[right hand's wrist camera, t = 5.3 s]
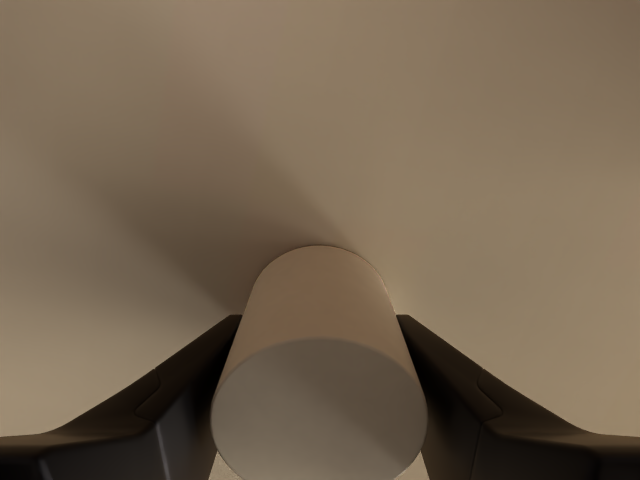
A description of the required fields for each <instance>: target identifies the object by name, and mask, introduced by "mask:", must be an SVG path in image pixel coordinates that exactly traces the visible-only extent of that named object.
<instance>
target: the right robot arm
mask: <svg viewBox="0 0 640 480" xmlns="http://www.w3.org/2000/svg"><path fill="white" fill-rule="evenodd" d="M242 316H243V315H229V316H228V317H226V318H225V319H223V320H222V321H221V322H219V323H218V324H216V325H215V326H213V327H212V328H211V329H209V330H208V331H206V332H205V333H204V334H202V335H201V336H199V337H198V338H197V339H195V340H194V341H192V342H191V343H190V344H188V345H187V346H185V347H184V348H182V349H181V350H180V351H178V352H177V353H175V354H174V355H173V356H171V357H170V358H168V359H167V360H166V361H164V362H163V363H161V364H160V365H158V366H157V367H156V368H155V369H153V370H151V371H150V372H148V373H147V374H146V375H144V376H143V377H141V378H140V379H138V380H137V381H135V382H134V383H132V384H131V385H130V386H128V387H126V388H125V389H123V390H122V391H120V392H118V393H117V394H115V395H114V396H112V397H110V398H109V399H107V400H105V401H104V402H102V403H100V404H99V405H97V406H95V407H94V408H92V409H90V410H89V411H87V412H85V413H84V414H82V415H80V416H79V417H77V418H75V419H74V420H72V421H70V422H68V423H67V424H65V425H63V426H61V427H59V428H57V429H54V430H51V431H48V432H45V433H41V434H34V435H20V436H7V437H0V480H208V479H209V475H210V472H211V469H212V466H213V463H214V460H215V456H216V453H217V448H216V446H215V443H214V441H213V438H212V434H211V428H210V408H211V402H212V399H213V396H214V394H215V391H216V388H217V385H218V383H219V380H220V377H221V374H222V372H223V369H224V366H225V363H226V360H227V358H228V355H229V352H230V349H231V347H232V344H233V341H234V338H235V336H236V333H237V330H238V327H239V325H240V322H241V319H242ZM396 317H397V320H398V323H399V326H400V329H401V331H402V334H403V337H404V340H405V343H406V345H407V348H408V351H409V354H410V357H411V359H412V362H413V365H414V368H415V371H416V373H417V376H418V379H419V382H420V385H421V387H422V390H423V393H424V396H425V399H426V403H427V407H428V428H427V434H426V437H425V441H424V444H423V446H422V448H421V453H422V456H423V460H424V463H425V466H426V469H427V473H428V476H429V479H430V480H640V437H630V436H616V435H603V434H596V433H592V432H589V431H586V430H583V429H580V428H578V427H576V426H574V425H572V424H570V423H569V422H567V421H565V420H564V419H562V418H560V417H559V416H557V415H555V414H554V413H552V412H550V411H549V410H547V409H545V408H544V407H542V406H540V405H539V404H537V403H535V402H534V401H532V400H530V399H529V398H527V397H525V396H524V395H522V394H521V393H519V392H517V391H516V390H514V389H513V388H511V387H510V386H508V385H507V384H505V383H504V382H502V381H501V380H499V379H498V378H496V377H495V376H493V375H492V374H491V373H489V372H488V371H486V370H485V369H483V368H482V367H481V366H479V365H478V364H476V363H475V362H474V361H472V360H471V359H469V358H468V357H467V356H465V355H464V354H462V353H461V352H460V351H458V350H457V349H455V348H454V347H453V346H451V345H450V344H448V343H447V342H446V341H444V340H443V339H441V338H440V337H439V336H437V335H436V334H435V333H433V332H432V331H430V330H429V329H428V328H426V327H425V326H423V325H422V324H421V323H419V322H418V321H416V320H415V319H414V318H412V317H411V316H409V315H396Z"/></svg>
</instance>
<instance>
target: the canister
mask: <svg viewBox="0 0 640 480" xmlns="http://www.w3.org/2000/svg"><path fill="white" fill-rule="evenodd" d="M210 428H211V434H212V438H213V441H214V443H215V446H216V448H217V450H218V452H219V454H220V455H221V457H222V458H223V460H224V461H225V462H226V464H227V465H228V466H229V467H230V468H231V469H232V470H233V471H234V472H235V473H236V474H237V475H239V476H240V477H241V478H242V479H244V480H394V479H396V478H397V477H398V476H400V475H401V474H402V473H403V472H404V471H405V470H406V469H407V468H408V467H409V466H410V465H411V464H412V462H413V461H414V460H415V458H416V457H417V455H418V454H419V452H420V450H421V448H422V446H423V444H424V441H425V437H426V434H427V428H428V407H427V403H426V399H425V396H424V393H423V390H422V387H421V385H420V382H419V379H418V376H417V373H416V371H415V368H414V365H413V362H412V359H411V357H410V354H409V351H408V348H407V345H406V343H405V340H404V337H403V334H402V331H401V329H400V326H399V323H398V320H397V317H396V315H395V312H394V309H393V306H392V303H391V301H390V298H389V295H388V292H387V289H386V287H385V285H384V282H383V280H382V279H381V277H380V275H379V274H378V273H377V271H376V270H375V269H374V268H373V267H372V266H371V265H370V264H369V263H368V262H367V261H365V260H364V259H362V258H361V257H359V256H358V255H356V254H354V253H352V252H350V251H347V250H344V249H341V248H337V247H332V246H307V247H302V248H298V249H294V250H292V251H289V252H287V253H285V254H283V255H281V256H279V257H278V258H276V259H275V260H273V261H272V262H271V263H270V264H269V265H268V266H267V267H266V268H265V269H264V270H263V271H262V272H261V274H260V275H259V276H258V278H257V280H256V282H255V283H254V286H253V289H252V291H251V294H250V297H249V300H248V302H247V305H246V308H245V311H244V313H243V316H242V319H241V322H240V325H239V327H238V330H237V333H236V336H235V338H234V341H233V344H232V347H231V349H230V352H229V355H228V358H227V360H226V363H225V366H224V369H223V372H222V374H221V377H220V380H219V383H218V385H217V388H216V391H215V394H214V396H213V399H212V402H211V408H210Z"/></svg>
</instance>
